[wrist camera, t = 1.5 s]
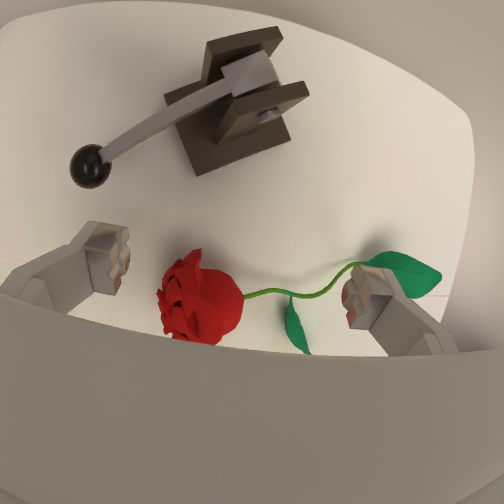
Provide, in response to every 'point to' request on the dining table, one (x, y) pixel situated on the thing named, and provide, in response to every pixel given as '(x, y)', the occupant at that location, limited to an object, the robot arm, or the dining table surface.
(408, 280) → the decorative flower
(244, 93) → the lever
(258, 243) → the dining table surface
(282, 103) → the bracket
